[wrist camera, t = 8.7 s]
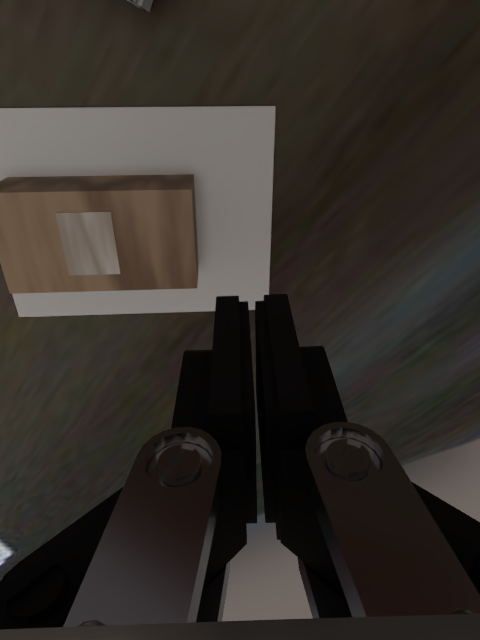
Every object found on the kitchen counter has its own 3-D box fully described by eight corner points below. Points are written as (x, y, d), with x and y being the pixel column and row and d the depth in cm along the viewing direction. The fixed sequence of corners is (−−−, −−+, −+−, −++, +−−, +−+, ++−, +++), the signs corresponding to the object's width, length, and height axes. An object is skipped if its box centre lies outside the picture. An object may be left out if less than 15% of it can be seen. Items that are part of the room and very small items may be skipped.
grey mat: (274, 105, 34) (275, 106, 33) (267, 307, 43) (268, 309, 43) (-42, 108, 33) (-45, 108, 32) (20, 314, 42) (19, 316, 41)
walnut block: (191, 189, 31) (-22, 193, 31) (197, 288, 35) (9, 294, 35) (193, 174, 36) (7, 177, 35) (198, 264, 40) (31, 268, 39)
